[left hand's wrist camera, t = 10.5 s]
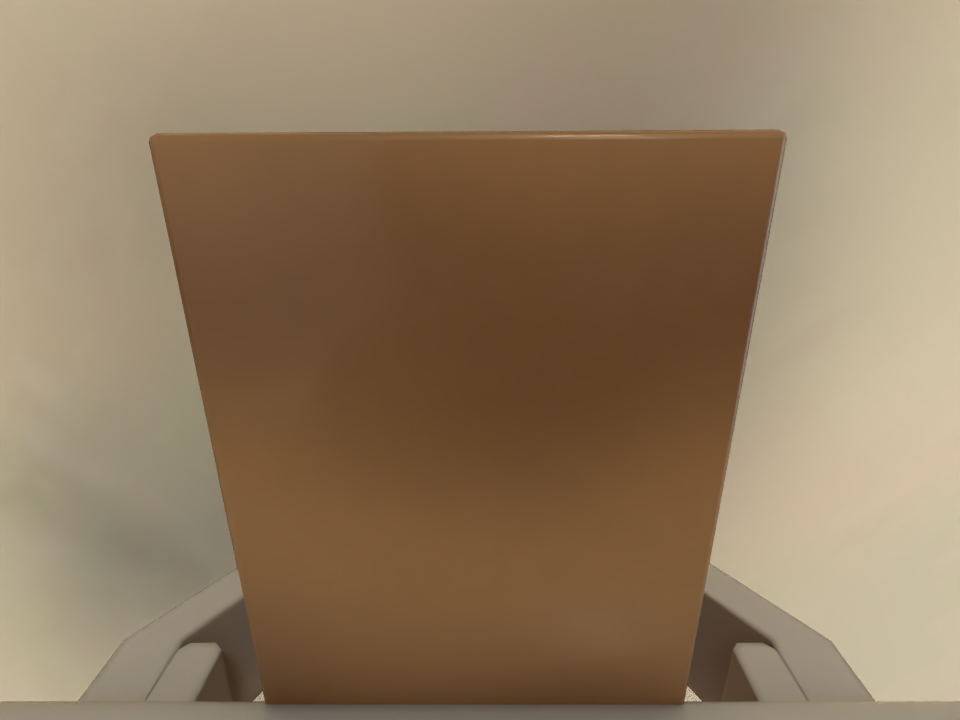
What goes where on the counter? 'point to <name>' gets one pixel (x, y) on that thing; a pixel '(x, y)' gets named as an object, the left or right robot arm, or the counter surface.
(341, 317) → the post
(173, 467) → the counter surface
